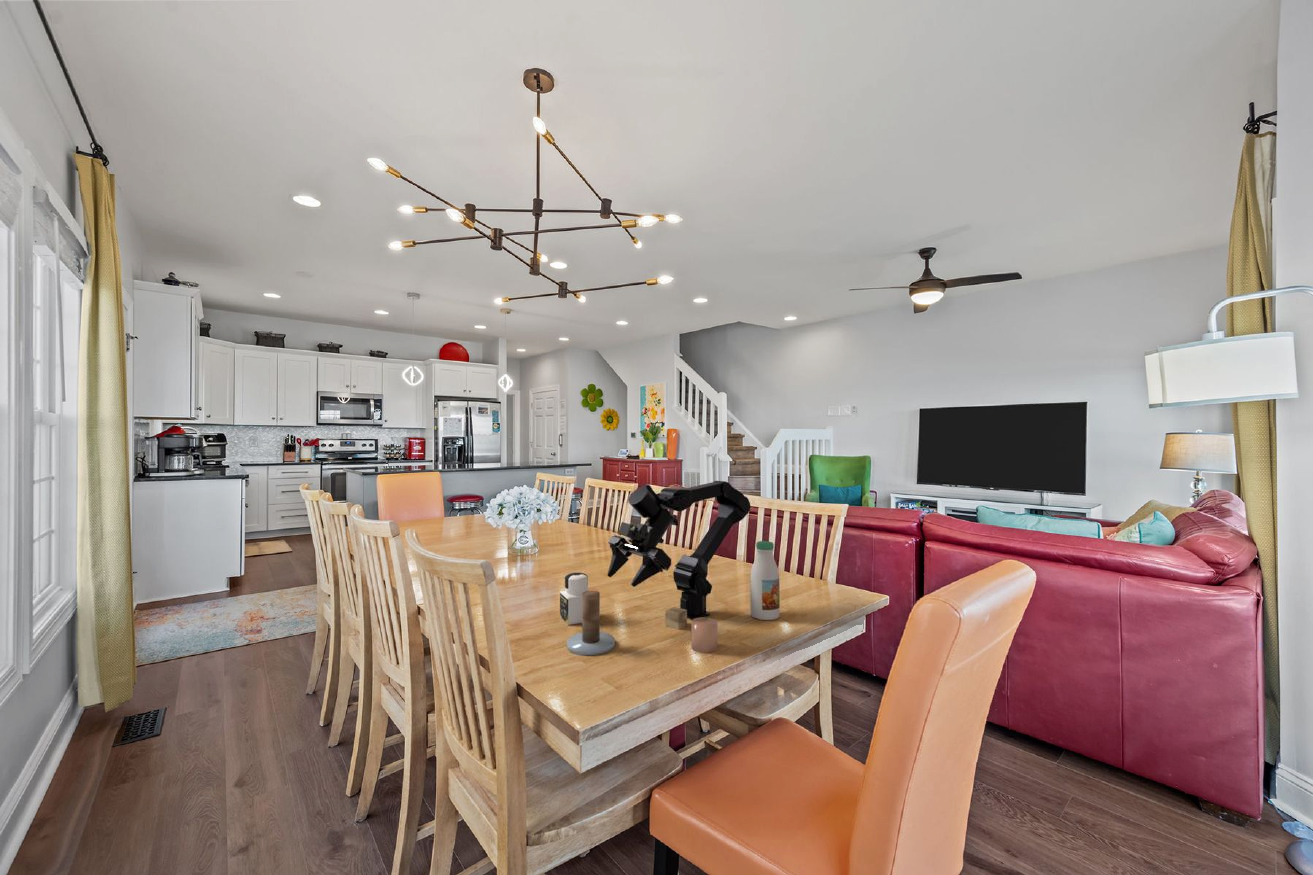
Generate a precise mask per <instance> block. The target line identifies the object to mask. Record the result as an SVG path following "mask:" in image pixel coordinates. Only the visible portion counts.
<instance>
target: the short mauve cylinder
mask: <svg viewBox="0 0 1313 875" xmlns="http://www.w3.org/2000/svg"><path fill="white" fill-rule="evenodd" d="M718 633H719V630H718V620H717V619H715V618H711V617H707V616H704V617H700V618H695V619H691V649H692V651H694V652H695V653H699V654H711V653H715V652H717V651H718V648H719V647H718V645H719V644H718V642H719V640H718V638H719V637H718V636H719V635H718Z"/></svg>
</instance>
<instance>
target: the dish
mask: <svg viewBox="0 0 1313 875" xmlns="http://www.w3.org/2000/svg"><path fill="white" fill-rule="evenodd" d="M615 644H616V643H615V637H614V636H613V635H612V634H610V633H608V632H603V631H600V641H599V642H597V643H593V644H587V643H584V642H583V641H582V632H580V633H576V634H574V635H572V636H570V637H569V638H568V639H567V641H566V649H567V650H568V651H569V652H571V653H572V654H575V655H580V656H596V655H598V656H599V655H602V654H606V653H608V652H610V651H612V650H613V649H614V648H615Z"/></svg>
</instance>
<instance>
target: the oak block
mask: <svg viewBox="0 0 1313 875" xmlns="http://www.w3.org/2000/svg"><path fill="white" fill-rule="evenodd" d="M664 615H665V616H664V619H665V620H664V624H665V627H666V628H671V629H675V630H681V629H682V628H684V627H686V626H687V625H688V617H687V610H685V609H681V608H678V607H676V606H674V607H671V608H669V609H667V610H665V613H664Z"/></svg>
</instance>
